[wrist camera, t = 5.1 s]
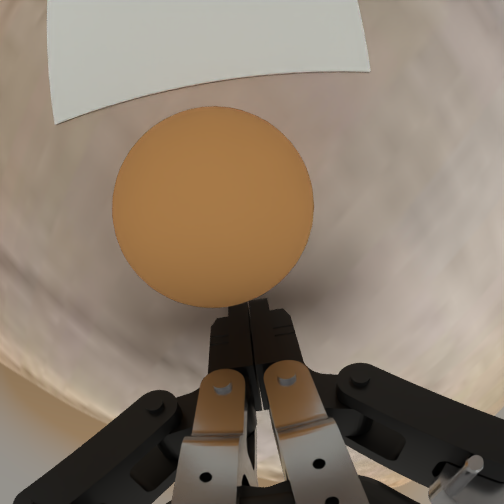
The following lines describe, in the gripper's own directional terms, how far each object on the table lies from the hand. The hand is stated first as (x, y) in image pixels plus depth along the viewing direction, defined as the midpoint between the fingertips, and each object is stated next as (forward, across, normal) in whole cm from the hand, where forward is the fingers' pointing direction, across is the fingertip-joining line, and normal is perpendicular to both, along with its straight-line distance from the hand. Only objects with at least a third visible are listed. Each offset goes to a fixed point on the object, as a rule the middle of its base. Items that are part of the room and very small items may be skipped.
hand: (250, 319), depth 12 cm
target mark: (+1, 0, -15) cm, 15 cm away
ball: (-2, 0, -5) cm, 5 cm away
